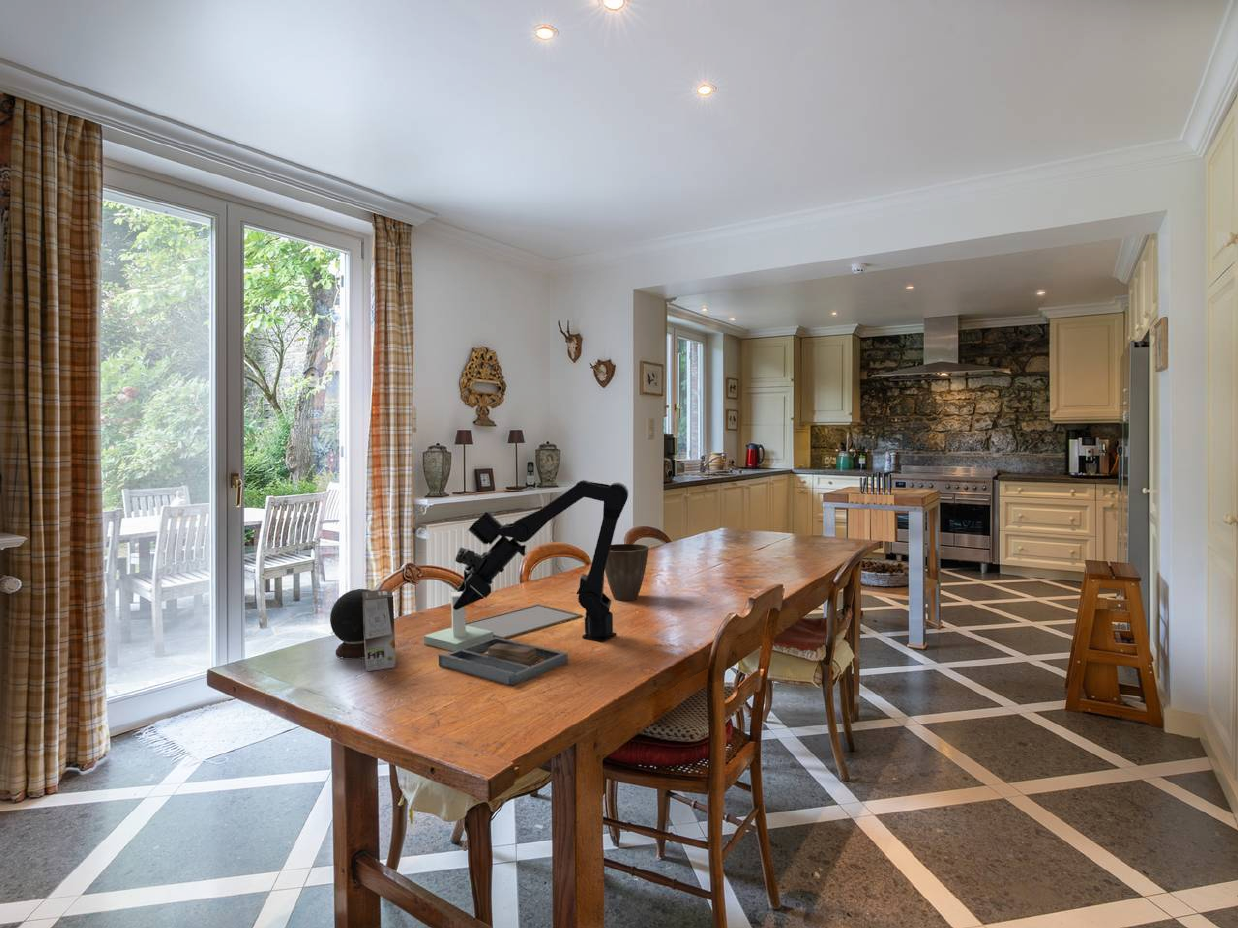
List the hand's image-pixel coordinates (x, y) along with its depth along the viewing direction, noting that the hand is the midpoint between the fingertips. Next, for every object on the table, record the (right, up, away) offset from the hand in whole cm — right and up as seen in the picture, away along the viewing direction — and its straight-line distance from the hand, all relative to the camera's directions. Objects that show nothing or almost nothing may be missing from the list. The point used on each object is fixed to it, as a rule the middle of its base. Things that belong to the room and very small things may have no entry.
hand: (454, 604), depth 168 cm
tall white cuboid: (+1, -7, +1) cm, 8 cm away
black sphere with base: (-21, -10, -6) cm, 24 cm away
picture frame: (+14, -9, +18) cm, 25 cm away
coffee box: (-13, -11, -15) cm, 23 cm away
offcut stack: (+17, -10, -15) cm, 25 cm away
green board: (+1, -9, +1) cm, 10 cm away
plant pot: (+43, -7, +43) cm, 61 cm away
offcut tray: (+15, -10, -17) cm, 25 cm away
